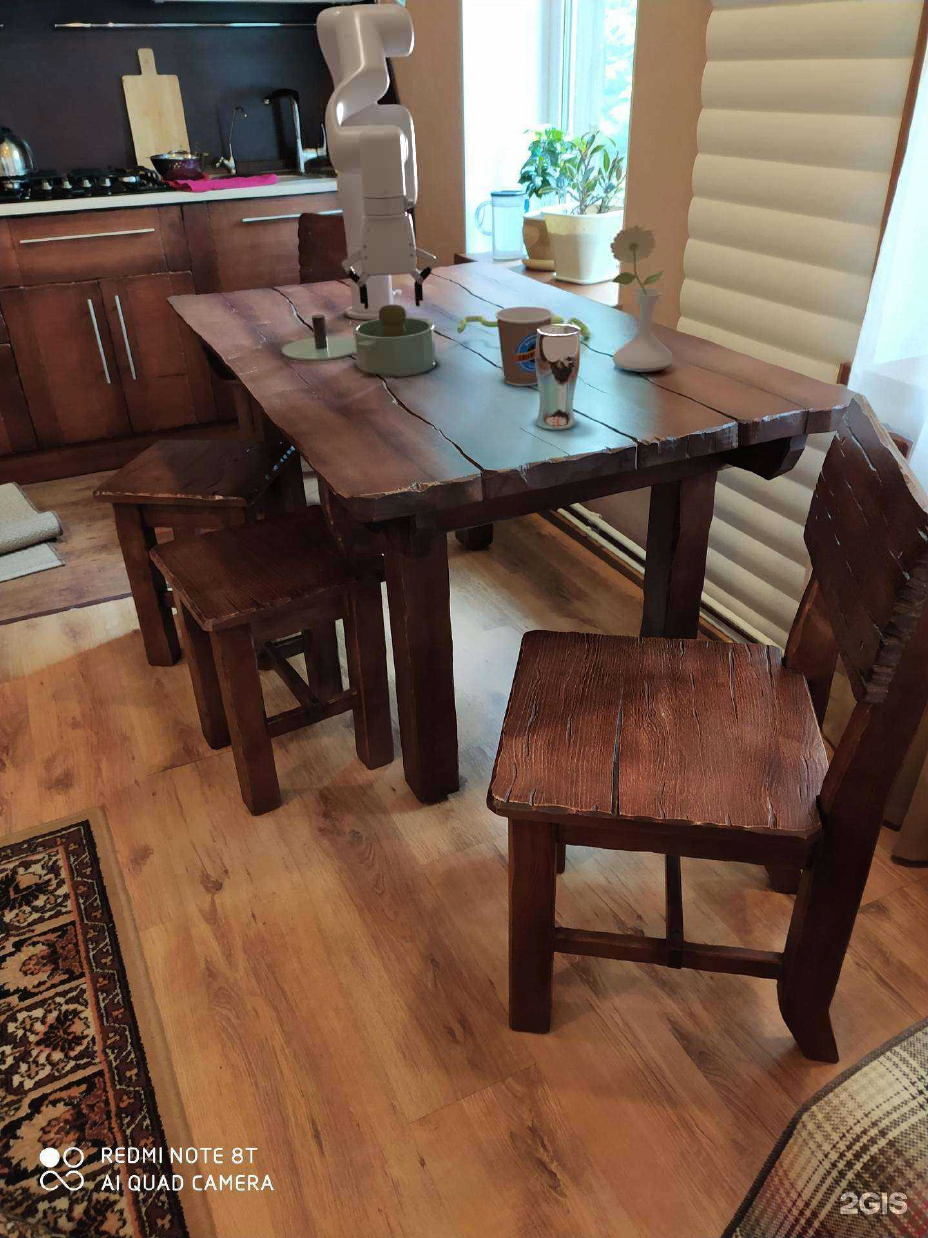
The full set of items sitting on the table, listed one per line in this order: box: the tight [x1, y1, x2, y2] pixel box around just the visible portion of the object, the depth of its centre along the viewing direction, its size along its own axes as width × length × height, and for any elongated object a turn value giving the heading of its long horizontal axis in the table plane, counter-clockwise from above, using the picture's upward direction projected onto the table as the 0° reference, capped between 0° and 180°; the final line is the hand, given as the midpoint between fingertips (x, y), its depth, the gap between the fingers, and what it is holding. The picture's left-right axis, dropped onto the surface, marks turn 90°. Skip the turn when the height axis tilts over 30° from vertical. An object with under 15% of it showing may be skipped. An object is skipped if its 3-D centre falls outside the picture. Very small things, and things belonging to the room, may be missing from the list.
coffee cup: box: [494, 306, 555, 387], centre depth 162 cm, size 10×10×12 cm
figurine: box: [456, 313, 591, 338], centre depth 186 cm, size 18×27×6 cm
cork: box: [379, 304, 407, 337], centre depth 173 cm, size 6×6×11 cm
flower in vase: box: [609, 224, 675, 373], centre depth 163 cm, size 13×11×25 cm
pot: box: [352, 316, 436, 378], centre depth 174 cm, size 15×21×7 cm
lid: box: [281, 314, 355, 362], centre depth 183 cm, size 16×16×7 cm
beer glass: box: [535, 323, 581, 431], centre depth 142 cm, size 7×7×15 cm
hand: (392, 306), depth 170 cm, fingers open, 9 cm apart
